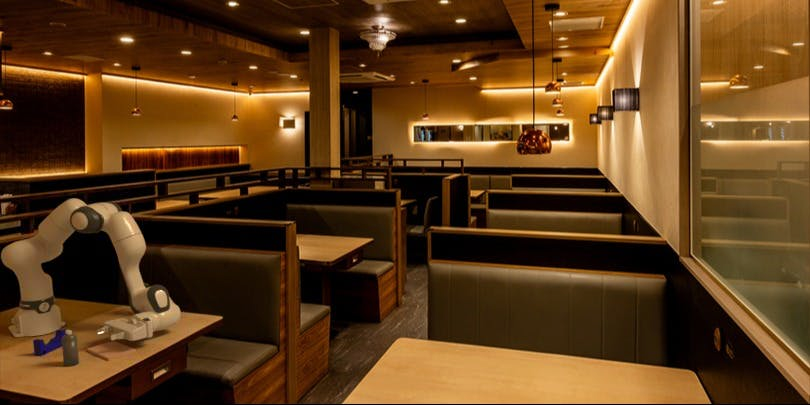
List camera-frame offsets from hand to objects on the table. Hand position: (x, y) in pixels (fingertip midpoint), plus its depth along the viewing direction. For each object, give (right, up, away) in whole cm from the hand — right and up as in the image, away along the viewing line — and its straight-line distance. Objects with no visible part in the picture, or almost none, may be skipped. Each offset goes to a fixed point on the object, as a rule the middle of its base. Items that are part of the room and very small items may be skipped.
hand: (103, 335), depth 207 cm
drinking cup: (-8, -2, +46) cm, 47 cm away
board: (+1, -7, +3) cm, 7 cm away
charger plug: (-7, -8, -9) cm, 14 cm away
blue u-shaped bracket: (-23, -7, +5) cm, 25 cm away
